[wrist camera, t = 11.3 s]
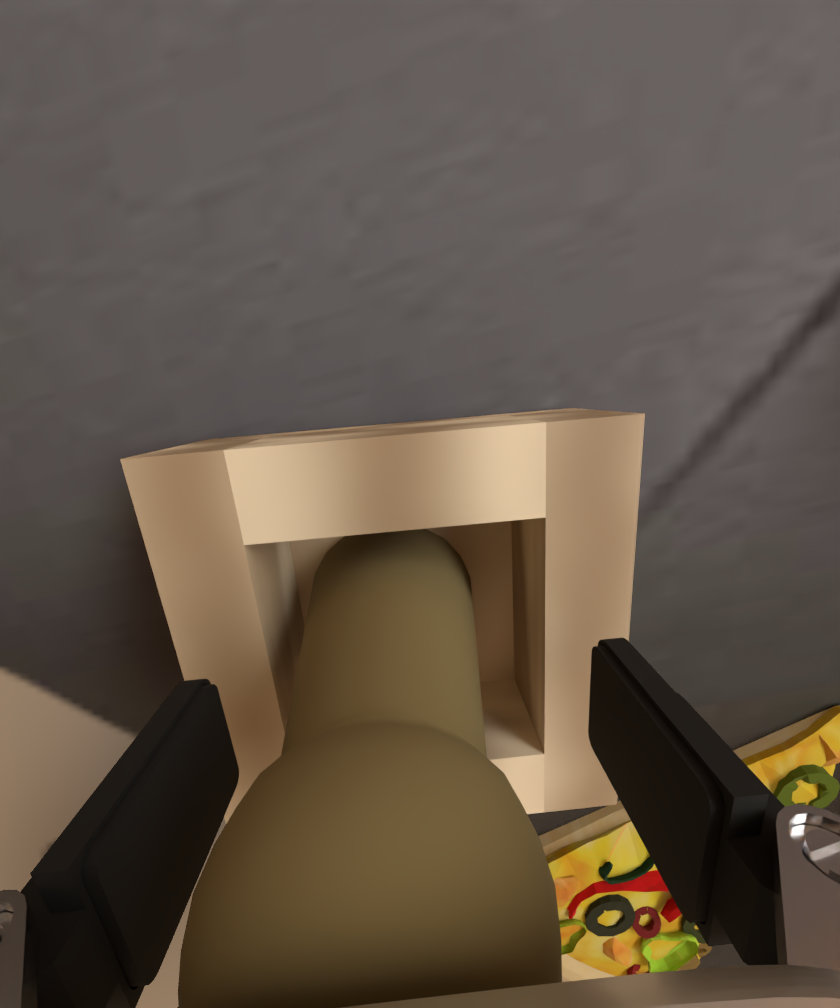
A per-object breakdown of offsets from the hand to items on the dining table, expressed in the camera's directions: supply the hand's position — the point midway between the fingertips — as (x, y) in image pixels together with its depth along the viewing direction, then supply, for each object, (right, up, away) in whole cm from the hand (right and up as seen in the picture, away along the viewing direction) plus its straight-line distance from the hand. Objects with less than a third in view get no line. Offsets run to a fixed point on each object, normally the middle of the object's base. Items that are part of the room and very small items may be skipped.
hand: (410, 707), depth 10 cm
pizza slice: (+14, -12, +11) cm, 21 cm away
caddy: (0, +2, +6) cm, 6 cm away
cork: (-1, +2, +5) cm, 6 cm away
